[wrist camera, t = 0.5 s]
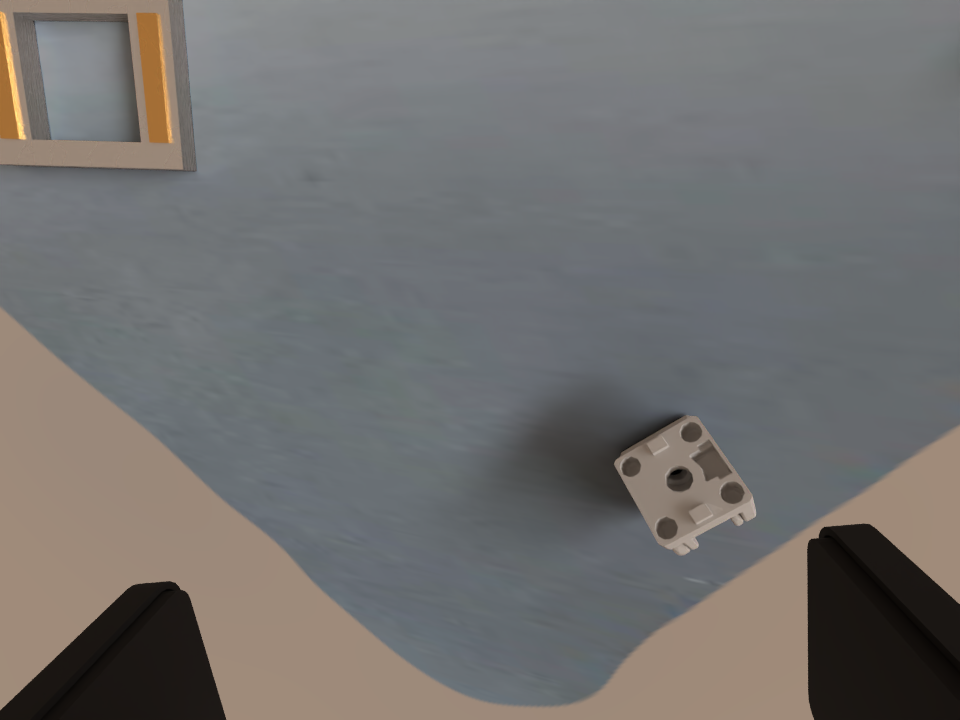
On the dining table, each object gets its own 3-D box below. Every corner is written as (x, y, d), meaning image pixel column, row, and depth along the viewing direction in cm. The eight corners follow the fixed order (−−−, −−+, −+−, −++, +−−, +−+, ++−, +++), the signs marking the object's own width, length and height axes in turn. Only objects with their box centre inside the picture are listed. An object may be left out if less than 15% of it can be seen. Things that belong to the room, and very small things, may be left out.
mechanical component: (657, 512, 40) (700, 606, 31) (598, 423, 39) (622, 492, 29) (727, 473, 39) (793, 558, 30) (667, 381, 38) (716, 438, 28)
